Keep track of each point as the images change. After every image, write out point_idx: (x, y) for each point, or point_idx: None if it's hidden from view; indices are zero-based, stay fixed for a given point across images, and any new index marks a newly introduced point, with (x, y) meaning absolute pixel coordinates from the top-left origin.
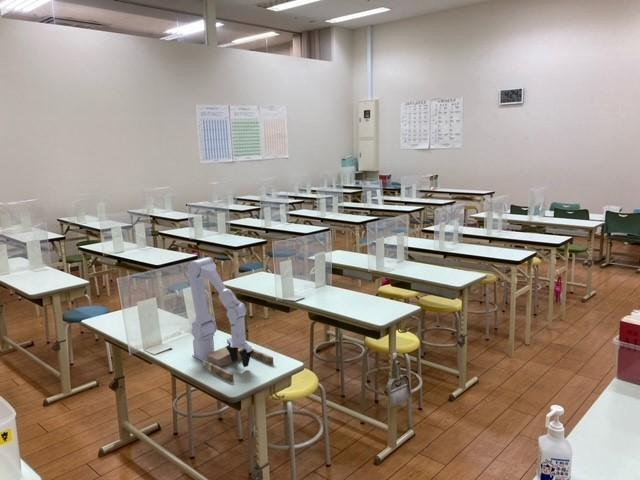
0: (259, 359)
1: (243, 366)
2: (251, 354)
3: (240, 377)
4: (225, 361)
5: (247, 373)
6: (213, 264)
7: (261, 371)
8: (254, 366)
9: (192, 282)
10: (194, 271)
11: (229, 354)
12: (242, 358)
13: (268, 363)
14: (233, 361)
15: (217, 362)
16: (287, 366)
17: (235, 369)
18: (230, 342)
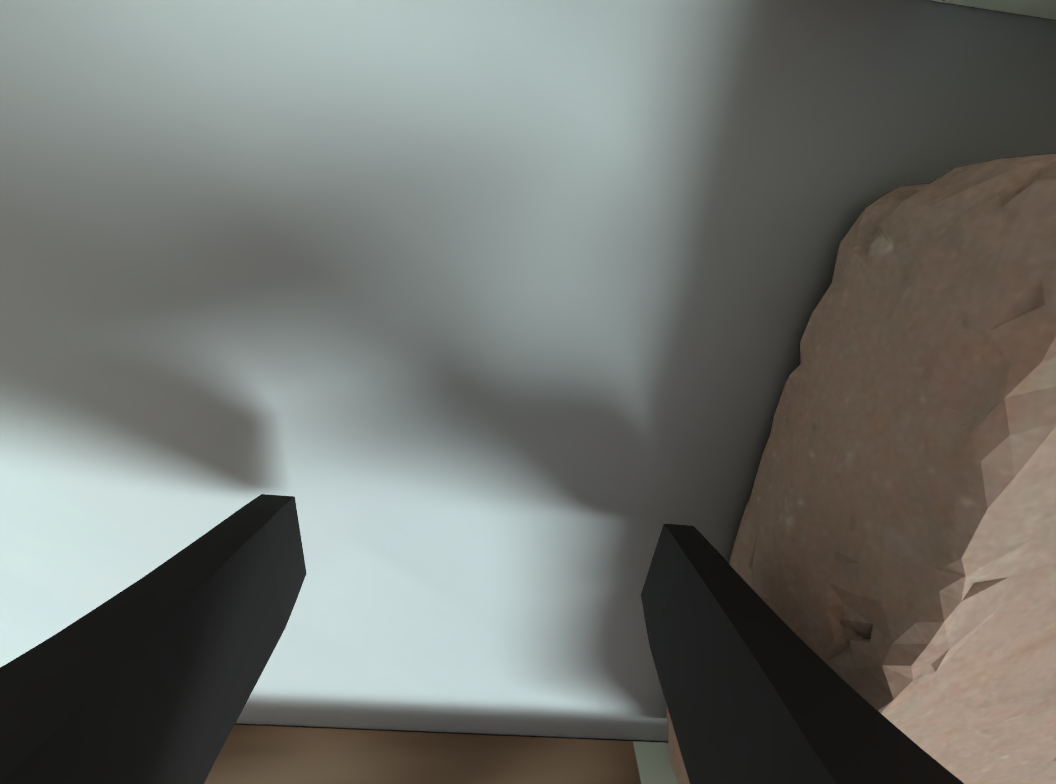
0: (445, 739)
1: (281, 500)
2: (620, 774)
3: (5, 169)
4: (834, 437)
5: (128, 398)
6: None
7: (59, 565)
8: (317, 610)
9: None
10: None
11: (880, 670)
12: (1, 711)
13: (249, 729)
14: (666, 536)
15: (1041, 178)
16: None
17: (476, 387)
18: None
